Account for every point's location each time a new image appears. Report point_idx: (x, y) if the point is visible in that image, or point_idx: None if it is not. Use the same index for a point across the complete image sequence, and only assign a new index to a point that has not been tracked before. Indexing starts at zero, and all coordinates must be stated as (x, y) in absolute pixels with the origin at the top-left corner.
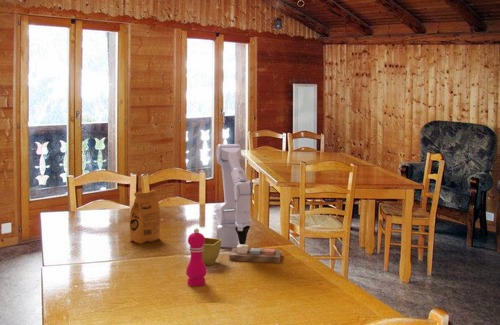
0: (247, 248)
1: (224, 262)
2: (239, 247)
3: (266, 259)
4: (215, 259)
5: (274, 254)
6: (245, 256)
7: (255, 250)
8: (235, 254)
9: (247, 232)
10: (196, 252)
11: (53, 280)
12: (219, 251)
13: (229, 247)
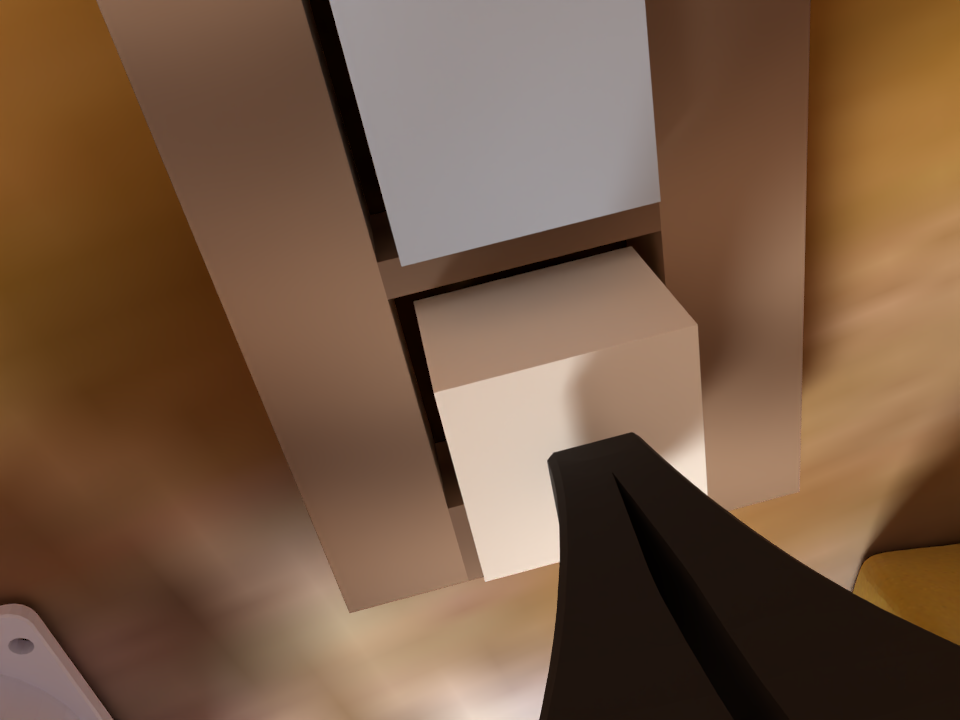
0: (508, 331)
1: (873, 444)
2: (705, 467)
3: None
4: (946, 565)
5: None
6: (796, 209)
7: (611, 72)
8: (757, 417)
9: (770, 681)
10: None
11: None
12: (953, 637)
13: (98, 701)
